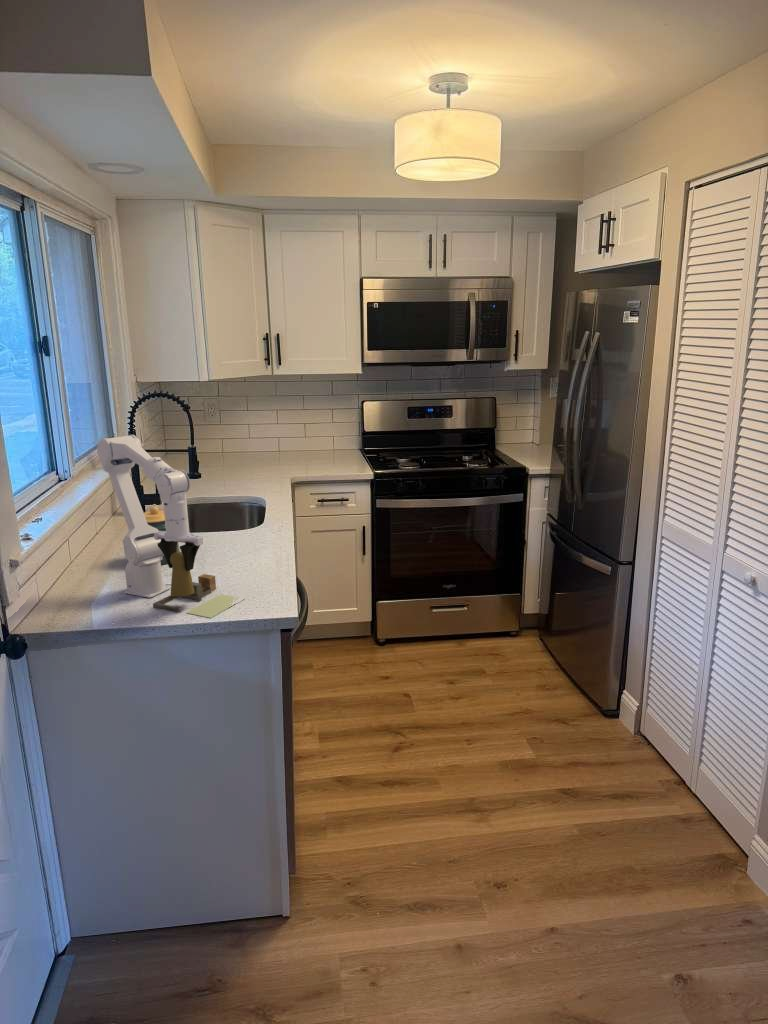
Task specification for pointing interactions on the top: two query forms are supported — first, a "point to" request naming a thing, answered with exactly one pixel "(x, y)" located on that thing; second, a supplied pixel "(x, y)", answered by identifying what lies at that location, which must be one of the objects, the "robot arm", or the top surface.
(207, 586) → the key
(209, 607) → the mat
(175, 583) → the brown pepper mill
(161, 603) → the socket
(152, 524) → the canister
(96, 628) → the top surface
